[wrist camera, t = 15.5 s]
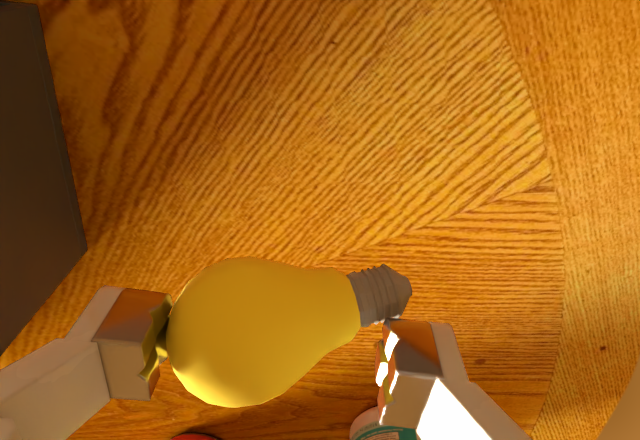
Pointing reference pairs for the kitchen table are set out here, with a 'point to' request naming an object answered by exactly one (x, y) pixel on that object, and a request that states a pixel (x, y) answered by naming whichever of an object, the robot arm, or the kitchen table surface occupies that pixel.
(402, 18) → the kitchen table surface
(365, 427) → the pill bottle
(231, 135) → the kitchen table surface
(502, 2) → the kitchen table surface
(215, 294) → the light bulb
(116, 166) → the kitchen table surface
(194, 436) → the beer can
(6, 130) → the drawer cabinet
